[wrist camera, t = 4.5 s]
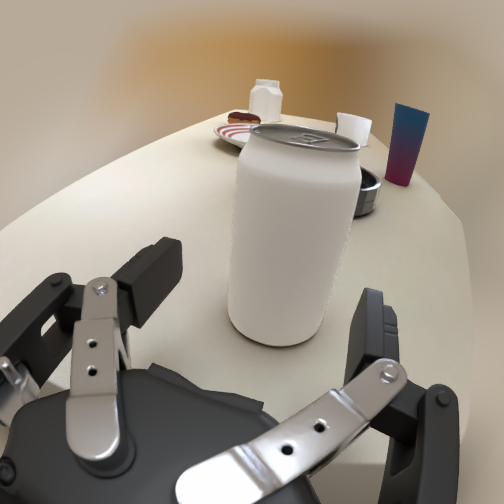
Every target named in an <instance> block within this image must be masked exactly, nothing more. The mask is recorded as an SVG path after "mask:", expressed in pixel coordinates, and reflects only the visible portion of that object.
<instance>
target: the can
mask: <svg viewBox="0 0 504 504" xmlns="http://www.w3.org/2000/svg"><path fill="white" fill-rule="evenodd" d="M249 132H250V137H249V139H248V141H247V143H246V144H245V146H244V148H243V149H242V151H241V153H240V155H239V159H238V165H237V175H236V187H235V199H234V212H233V226H232V240H231V255H230V271H229V289H228V314H229V317H230V320H231V321H232V323H233V325H234V326H235V327H236V328H237V330H238V331H240V332H241V333H242V334H244V335H245V336H246V337H248V338H250V339H252V340H254V341H256V342H259V343H262V344H265V345H270V346H290V345H294V344H298V343H301V342H303V341H305V340H307V339H309V338H310V337H312V336H313V335H314V334H315V333H316V332H317V330H318V329H319V327H320V325H321V322H322V320H323V317H324V314H325V311H326V308H327V305H328V302H329V299H330V296H331V293H332V290H333V287H334V283H335V280H336V277H337V274H338V270H339V267H340V264H341V260H342V257H343V253H344V250H345V246H346V242H347V239H348V235H349V231H350V228H351V224H352V220H353V216H354V212H355V208H356V204H357V199H358V195H359V190H360V185H361V179H362V175H361V169H360V165H359V161H358V156H357V153H358V151H359V150H360V145H359V144H358V143H357V142H355V141H353V140H351V139H349V138H346V137H344V136H341V135H338V134H335V133H331V132H327V131H323V130H319V129H314V128H309V127H303V126H296V125H286V124H258V125H253V126H251V127H250V128H249Z"/></svg>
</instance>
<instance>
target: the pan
mask: <svg viewBox="0 0 504 504" xmlns="http://www.w3.org/2000/svg"><path fill="white" fill-rule="evenodd" d="M360 169H361V175H362V179H361V185H360V190H359V195H358V199H357V204H356V208H355V212H354V216H353V217H355V216H360V215H363V214H366V213H369V212H371V211H372V210H373V209H374V208H375V206H376V203H377V199H378V195H379V192H380V188H381V182H380V179H379V178H378V177H377V176H376V175H374V174H373V173H372V172H370V171H368V170H366V169H365V168H363V167H361V166H360Z"/></svg>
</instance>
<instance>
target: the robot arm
mask: <svg viewBox="0 0 504 504" xmlns="http://www.w3.org/2000/svg"><path fill="white" fill-rule="evenodd" d="M182 272H183V265H182V244H181V241H180V240H176V239H172V238H168V237H163V238H162V239H160V240H159V241H158V242H157V243H156V244H155V245H150V246H148V247H145V248H143V249H141V250H140V251H139V252H138V253H137V254H136V255H135V257H134V256H133V257H132V258H131V259H130V260H129V262H127V263H126V264H124V265H123V266H122V267H121V268H120V269H119V270H118V271H117V272H116V273H114V274H113V275H112V276H111V277H110V278H109V277H99V278H96V279H93V280H91V281H90V282H89V283H88V284H87V285H77V284H73V283H72V280H71V277H70V275H68V274H67V273H55V274H52V275H50V276H49V277H47V278H46V279H45V280H44V281H43V282H42V283H41V284H39V285H38V286H37V287H36V288H35V289H34V290H33V291H32V292H31V293H30V294H29V295H28V296H27V297H25V298H24V299H23V300H22V301H21V302H20V303H19V304H18V305H17V306H16V307H15V308H14V309H13V310H12V311H11V312H10V313H9V314H8V315H7V316H6V317H5V318H4V319H3V320H2V321H1V322H0V424H1V425H3V426H7V427H9V428H10V430H9V436H8V440H7V444H6V447H5V450H4V452H3V454H2V456H1V458H0V504H321V503H320V501H319V499H318V497H317V495H316V493H315V491H314V489H313V487H312V485H311V483H310V481H309V478H310V477H312V476H313V475H314V474H316V473H317V472H318V471H320V470H321V469H322V468H323V467H325V466H326V465H327V464H329V463H330V462H331V461H332V460H333V459H334V458H335V457H337V456H338V455H339V454H340V453H341V452H342V451H344V450H345V449H346V448H347V447H348V446H350V445H351V444H352V443H353V442H354V441H355V440H356V439H358V438H359V437H360V436H361V435H362V434H363V433H364V432H365V431H366V430H368V429H369V428H370V427H372V428H374V429H376V430H378V431H380V432H382V433H384V434H386V435H388V436H390V440H389V447H388V453H387V460H386V465H385V471H384V477H383V481H382V486H381V491H380V496H379V501H378V504H456V500H457V490H458V476H459V447H460V439H459V408H458V399H457V396H456V394H455V393H454V392H453V391H452V390H451V389H450V388H449V387H447V386H445V385H442V384H435V385H432V386H431V387H429V389H428V390H426V389H424V388H422V387H420V386H418V385H416V384H414V383H412V382H411V381H410V380H408V379H407V373H406V371H405V369H404V368H403V366H402V365H401V364H400V362H399V342H398V328H397V316H396V314H395V312H394V311H393V309H392V307H391V306H387V305H383V292H382V291H377V290H373V289H369V288H364V290H363V293H362V295H361V298H360V301H359V303H358V306H357V308H356V311H355V313H354V316H353V319H352V322H351V327H350V334H349V344H348V353H347V362H346V370H345V377H344V384H343V387H342V388H341V389H340V390H338V391H337V390H336V389H332V390H330V391H329V392H327V393H326V394H324V395H323V396H321V397H320V398H319V399H317V400H316V401H314V402H313V403H311V404H310V405H308V406H307V407H305V408H304V409H302V410H301V411H299V412H298V413H296V414H295V415H293V416H292V417H290V418H288V419H287V420H285V421H284V422H282V423H281V424H279V422H277V421H276V420H275V419H274V418H273V417H272V416H270V415H269V414H267V413H266V412H264V411H262V409H263V405H264V402H261V401H257V400H254V399H251V398H247V397H244V396H241V395H238V394H235V393H226V392H217V391H209V390H203V389H201V388H199V387H197V386H196V385H194V384H193V383H191V382H190V381H188V380H187V379H186V378H184V377H183V376H181V375H180V374H178V373H177V372H174V371H172V370H169V369H167V368H164V367H162V366H159V365H157V364H155V363H152V364H151V366H150V367H149V368H148V370H147V369H132V367H131V358H130V347H129V334H128V328H129V326H130V325H132V326H135V327H137V328H139V329H140V328H141V327H142V326H143V325H144V324H145V322H146V321H147V320H148V319H149V317H150V316H151V315H152V314H153V313H154V311H155V310H156V309H157V308H158V307H159V305H160V304H161V303H162V302H163V300H164V299H165V298H166V297H167V296H168V294H169V293H170V292H171V291H172V290H173V289H174V287H175V286H176V285H177V284H178V283H179V281H180V279H181V276H182ZM52 315H54V317H55V319H56V322H55V323H54V324H53V325H52V326H51V327H50V328H49V329H48V330H47V332H46V333H45V334H44V335H43V336H41V328H42V326H43V325H44V324H45V322H46V321H47V320H48V319H49V318H50V317H51V316H52ZM71 349H72V358H71V376H70V389H68V390H65V391H62V392H58V393H55V394H52V395H49V396H46V397H43V398H40V399H38V396H39V390H40V388H41V387H42V386H43V384H44V383H45V382H46V380H47V379H48V378H49V377H50V375H51V374H52V373H53V371H54V370H55V369H56V368H57V366H58V365H59V364H60V362H61V361H62V360H63V359H64V357H65V356H66V355H67V354H68V352H69V351H70V350H71Z"/></svg>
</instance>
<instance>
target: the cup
mask: <svg viewBox="0 0 504 504" xmlns="http://www.w3.org/2000/svg"><path fill="white" fill-rule="evenodd" d="M429 115H430V114H429V113H427V112H424V111H421V110H418V109H415V108H411V107H408V106H404V105H401V104H397V103H396V104H395V113H394V121H393V129H392V136H391V143H390V150H389V156H388V162H387V168H386V174H385V179H387V180H388V181H390V182H392V183H394V184H397V185H401V186H408V185H409V182H410V179H411V176H412V173H413V170H414V167H415V164H416V160H417V157H418V154H419V151H420V147H421V144H422V140H423V137H424V133H425V130H426V126H427V122H428V118H429Z"/></svg>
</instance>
